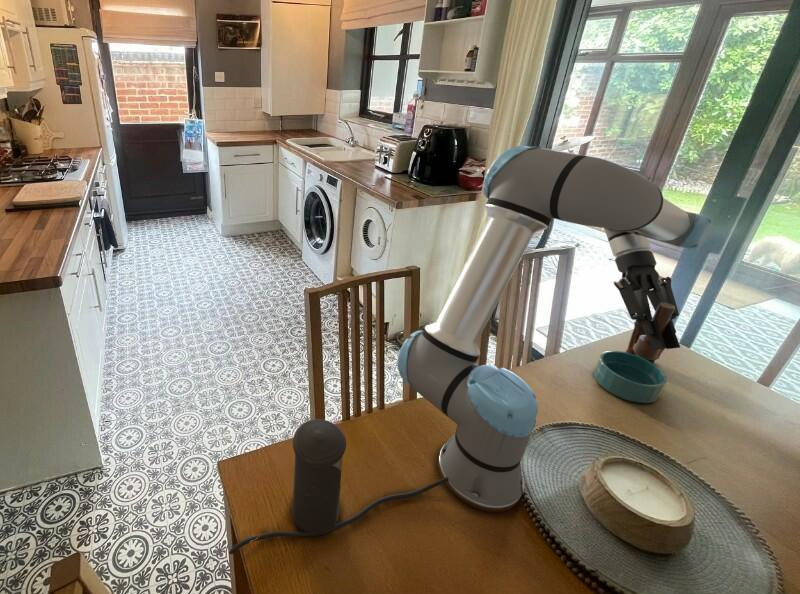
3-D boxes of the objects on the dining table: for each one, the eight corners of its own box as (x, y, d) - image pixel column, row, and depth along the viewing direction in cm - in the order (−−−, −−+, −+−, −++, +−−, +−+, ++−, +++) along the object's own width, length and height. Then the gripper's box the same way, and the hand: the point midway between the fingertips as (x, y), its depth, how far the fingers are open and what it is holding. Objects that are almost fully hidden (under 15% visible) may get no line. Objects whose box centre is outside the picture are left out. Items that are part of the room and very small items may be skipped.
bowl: (629, 410, 97) (638, 391, 95) (580, 373, 109) (587, 355, 106) (670, 399, 100) (680, 380, 98) (618, 364, 112) (626, 347, 109)
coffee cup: (665, 375, 108) (686, 335, 103) (630, 370, 110) (648, 330, 104) (646, 354, 116) (665, 316, 110) (614, 350, 117) (630, 312, 112)
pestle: (646, 360, 98) (670, 311, 92) (629, 349, 102) (650, 301, 96) (660, 357, 99) (684, 309, 93) (642, 346, 103) (664, 299, 97)
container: (349, 521, 73) (358, 442, 65) (308, 549, 69) (311, 469, 61) (321, 483, 80) (325, 407, 72) (281, 506, 76) (281, 429, 67)
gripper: (648, 257, 107) (682, 348, 99) (591, 260, 106) (621, 352, 98) (675, 247, 100) (714, 344, 92) (615, 250, 99) (649, 348, 91)
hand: (666, 348), depth 95 cm, fingers closed on pestle, 3 cm apart
